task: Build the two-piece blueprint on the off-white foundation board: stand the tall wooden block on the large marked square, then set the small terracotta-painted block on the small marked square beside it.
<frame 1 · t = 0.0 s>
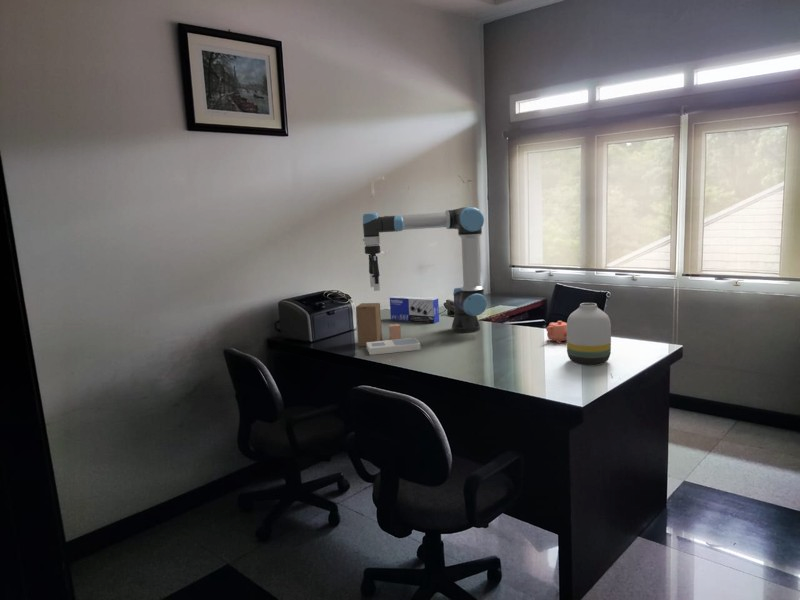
hand: (375, 288, 274), 28 cm above the table, fingers open, 13 cm apart
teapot: (559, 341, 263), on the table
wooden block: (370, 344, 280), on the table
terracotta block: (395, 340, 284), on the table
ink box: (414, 321, 330), on the table
foundation board: (393, 349, 267), on the table
vase: (588, 362, 227), on the table
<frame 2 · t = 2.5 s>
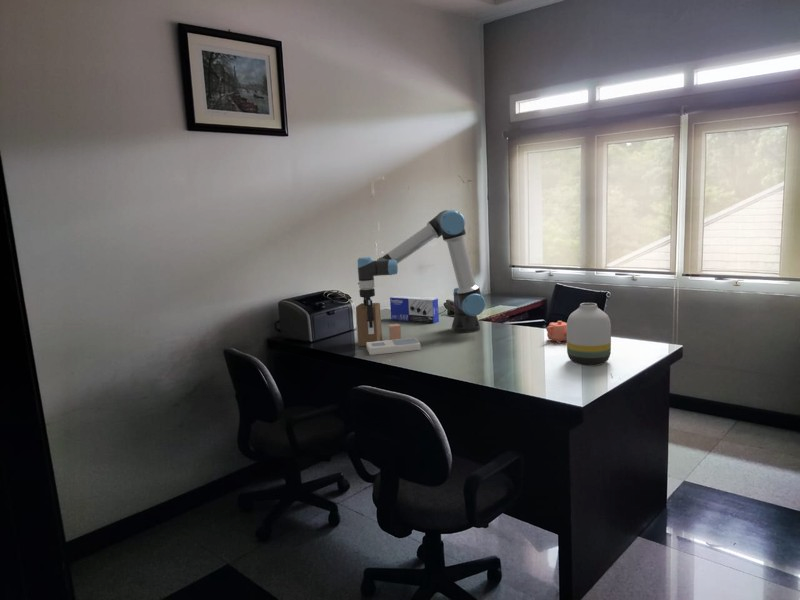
hand: (369, 331, 279), 6 cm above the table, fingers closed on wooden block, 12 cm apart
wooden block: (370, 344, 280), on the table, touching gripper
everything else where it was.
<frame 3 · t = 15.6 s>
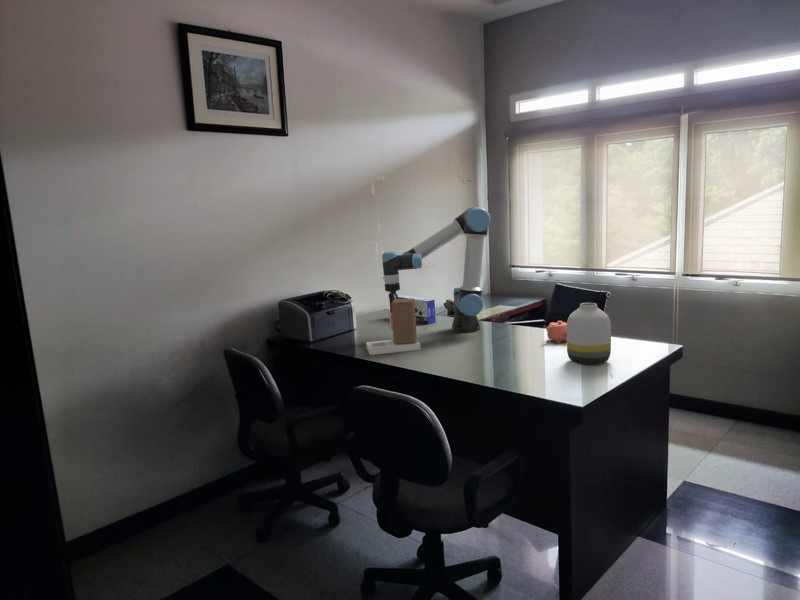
hand: (396, 328, 283), 6 cm above the table, fingers closed on terracotta block, 5 cm apart
wooden block: (405, 341, 267), point 3 cm above the table, touching foundation board
terracotta block: (396, 328, 283), point 6 cm above the table, touching gripper
when the fingers open (3 cm above the table, at t = 22.5 s): terracotta block stays where it is, resting on foundation board.
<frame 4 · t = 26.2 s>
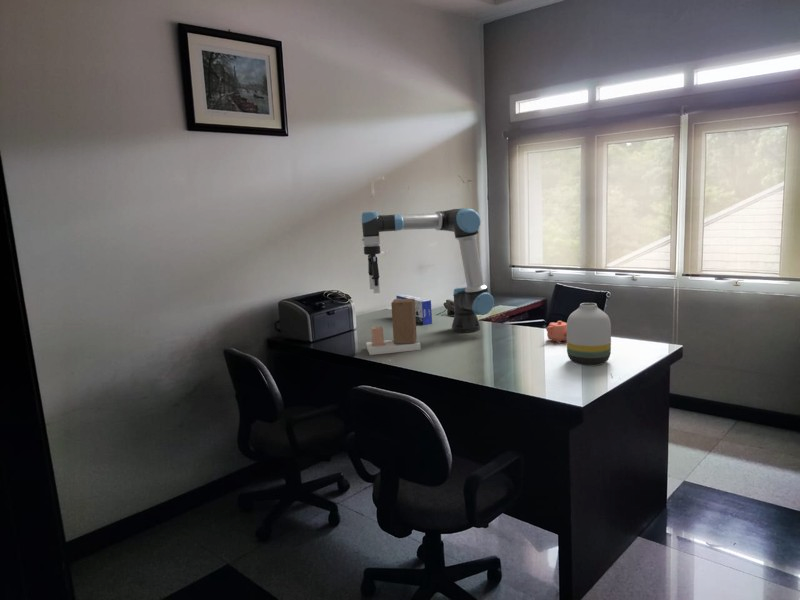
hand: (374, 291, 261), 29 cm above the table, fingers open, 13 cm apart
terracotta block: (378, 344, 265), point 3 cm above the table, touching foundation board
at the end: wooden block inside the target area (0.2 cm from its centre), point 2.9 cm above the table; wooden block tilted 0°; terracotta block inside the target area (0.1 cm from its centre), point 3.1 cm above the table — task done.
